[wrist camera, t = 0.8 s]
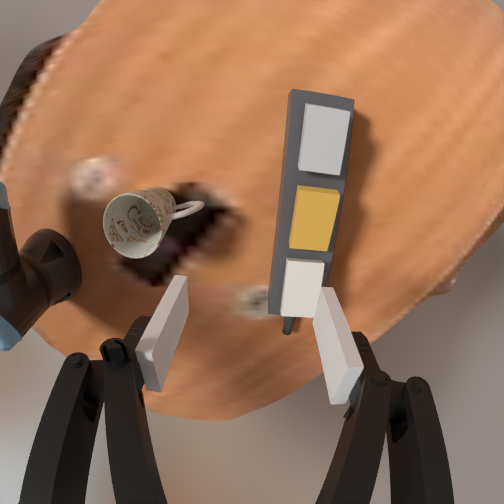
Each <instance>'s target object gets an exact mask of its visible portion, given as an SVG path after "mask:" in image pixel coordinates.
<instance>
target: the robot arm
mask: <svg viewBox="0 0 504 504" xmlns="http://www.w3.org/2000/svg"><path fill="white" fill-rule="evenodd" d="M10 210H11V207H10V206H9V201H8V196H7V189H6V186H5V185H4V184H3V183H2V182H0V350H1V351H9V350H10V349H12V347H14V346H15V345H16V344H17V343H18V342H19V341H20V340H21V339H22V337H23V336H24V335H25V334H26V333H27V331H28V330H29V329H30V328H31V327H32V326H33V325H34V323H35V322H36V321H37V320H38V319H39V318H40V317H41V316H42V314H43V313H44V312H45V311H46V310H47V309H48V308H49V307H51V306H53V305H56V304H58V303H61V302H63V301H66V300H68V299H69V298H71V297H72V296H73V295H74V294H75V293H76V292H77V290H78V289H79V287H80V284H81V269H80V265H79V261H78V259H77V256H76V254H75V252H74V250H73V249H72V247H71V246H70V244H69V243H68V242H67V241H66V239H65V238H64V237H62V236H61V235H60V234H59V233H57V232H55V231H53V230H50V229H41V230H39V231H37V232H36V233H34V234H33V235H31V236H30V237H29V238H28V240H27V241H26V243H25V244H24V245H23V247H22V248H21V250H20V251H19V253H18V249H17V244H16V240H15V235H14V229H13V224H12V218H11V212H10ZM188 315H189V305H188V286H187V276H180V275H175V276H174V278H173V279H172V281H171V283H170V285H169V287H168V288H167V290H166V292H165V294H164V296H163V297H162V299H161V301H160V303H159V305H158V307H157V309H156V310H155V312H154V314H153V316H152V317H147V316H140V317H139V318H138V319H136V320H135V321H134V323H133V324H132V326H131V329H129V331H128V334H127V335H126V336H125V338H124V340H123V339H120V338H112V339H108V340H106V341H104V342H103V343H102V344H101V346H100V352H101V355H102V357H103V360H89V358H88V356H87V355H85V354H84V353H73V354H71V355H69V356H68V357H67V358H66V359H65V361H64V363H63V366H62V368H61V370H60V373H59V375H58V377H57V380H56V382H55V384H54V387H53V389H52V391H51V394H50V397H49V399H48V402H47V404H46V407H45V410H44V412H43V415H42V418H41V421H40V424H39V427H38V430H37V433H36V436H35V439H34V443H33V446H32V449H31V452H30V456H29V460H28V464H27V468H26V472H25V476H24V480H23V485H22V490H21V495H20V501H19V503H18V504H85V496H86V489H87V482H88V475H89V469H90V463H91V458H92V452H93V447H94V442H95V436H96V432H97V427H98V423H99V419H100V414H101V410H102V407H103V403H105V424H106V437H107V447H108V456H109V464H110V471H111V478H112V484H113V490H114V495H115V500H116V504H167V500H166V497H165V494H164V490H163V487H162V483H161V480H160V476H159V472H158V469H157V465H156V461H155V456H154V452H153V447H152V443H151V438H150V433H149V428H148V422H147V416H146V410H145V404H144V398H143V393H142V387H143V385H144V384H145V387H146V390H151V391H156V392H162V389H163V386H164V383H165V380H166V377H167V374H168V371H169V368H170V365H171V362H172V359H173V356H174V354H175V351H176V348H177V345H178V342H179V339H180V337H181V334H182V331H183V328H184V325H185V323H186V320H187V317H188ZM313 327H314V331H315V335H316V339H317V344H318V348H319V353H320V357H321V362H322V366H323V371H324V375H325V380H326V385H327V390H328V394H329V400H330V404H331V405H333V404H334V405H335V404H345V403H346V401H347V400H348V398H349V399H350V403H351V405H350V406H349V408H348V410H347V412H346V413H345V415H344V418H345V417H346V418H345V422H344V425H343V428H342V432H341V435H340V438H339V441H338V445H337V448H336V451H335V454H334V457H333V460H332V462H331V465H330V468H329V471H328V473H327V476H326V479H325V481H324V484H323V486H322V489H321V491H320V494H319V496H318V499H317V501H316V503H315V504H369V503H370V500H371V496H372V492H373V489H374V485H375V481H376V477H377V473H378V469H379V464H380V460H381V455H382V450H383V445H384V439H385V433H387V443H388V453H389V467H390V485H391V504H454V496H453V488H452V481H451V474H450V469H449V463H448V458H447V452H446V447H445V443H444V438H443V434H442V430H441V426H440V422H439V418H438V415H437V411H436V407H435V403H434V400H433V396H432V393H431V390H430V386H429V384H428V383H427V382H426V381H425V380H424V379H423V378H421V377H411V378H409V379H408V380H407V382H406V383H404V382H397V381H393V380H391V378H390V377H389V375H388V374H387V373H385V372H383V371H381V370H380V368H379V366H378V363H377V361H376V359H375V356H374V354H373V351H372V349H371V347H370V344H369V342H368V340H367V338H366V337H365V336H364V335H363V334H362V333H361V332H351V331H350V328H349V326H348V323H347V321H346V318H345V316H344V313H343V311H342V308H341V306H340V303H339V301H338V298H337V296H336V294H335V291H334V289H333V287H321V289H320V294H319V298H318V302H317V307H316V311H315V315H314V319H313Z"/></svg>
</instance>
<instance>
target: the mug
mask: <svg viewBox="0 0 504 504" xmlns="http://www.w3.org/2000/svg"><path fill="white" fill-rule="evenodd" d="M190 207H191V208H190ZM203 207H204V202H202V201H190V202H186V203H183V204H180V205H177V206H176V202H175V199H174V197H173V196H172V194H171V193H170V192H169V191H167V190H166V189H164V188H160V187H153V188H148V189H143V190H138V191H133V192H129V193H124V194H121V195H119V196H117V197H115V198H114V199H113V200H112V201H111V202H110V203H109V204H108V206H107V207H106V209H105V212H104V216H103V228H104V232H105V235H106V238H107V240H108V241H109V243H110V244H111V246H112V247H113V248H114V249H115V250H116V251H118V252H119V253H120V254H122V255H124V256H126V257H129V258H143V257H146V256H148V255H150V254H152V253H153V252H154V251H155V250H156V249H157V248H158V246H159V245H160V243H161V241H162V239H163V237H164V235H165V233H166V231H167V229H168V227H169V225H170V223H171V221H172V220H173V219H178V218H182V217H185V216H188V215H190V214H193V213H195V212H197V211H199V210H200V209H202V208H203ZM182 208H188V209H186V210H183V211H180V212H176V209H182Z"/></svg>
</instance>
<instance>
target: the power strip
mask: <svg viewBox="0 0 504 504" xmlns="http://www.w3.org/2000/svg"><path fill="white" fill-rule="evenodd" d="M305 103H306V104H313V105H319V106H325V107H331V108H337V109H342V110H347V111H349V112H350V118H349V124H348V131H347V137H346V143H345V149H344V154H343V160H342V165H341V170H340V175H333V174H326V173H318V172H311V171H302V170H299V168H298V161H299V153H300V145H301V137H302V129H303V121H304V112H305ZM353 112H354V99H349V98H345V97H340V96H334V95H329V94H323V93H317V92H311V91H304V90H297V89H292V90H291V91H290V93H289V95H288V108H287V120H286V131H285V142H284V153H283V164H282V174H281V184H280V194H279V203H278V213H277V222H276V231H275V240H274V249H273V258H272V267H271V275H270V283H269V292H268V314H281V313H280V309H281V301H282V293H283V284H284V276H285V267H286V259H287V258H297V259H310V260H322V261H323V262H324V263H325V265H324V272H323V278H322V284H321V287H326V284H327V279H328V275H329V270H330V266H331V261H332V256H333V251H334V246H335V241H336V236H337V230H338V225H339V219H340V213H341V208H342V201H343V195H344V189H345V182H346V175H347V167H348V159H349V151H350V143H351V133H352V123H353ZM297 185H301V186H309V187H318V188H326V189H333V190H338V192H339V194H340V199H339V204H338V208H337V213H336V217H335V221H334V226H333V230H332V234H331V238H330V242H329V246H328V250H327V251H317V250H305V249H293V248H290V247H289V237H290V231H291V225H292V218H293V212H294V205H295V199H296V192H297ZM293 322H294V317H289V316H285V320H284V326H283V331H282V332H283V334H285V335H290V334H291V332H292V327H293Z"/></svg>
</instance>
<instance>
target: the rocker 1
mask: <svg viewBox="0 0 504 504" xmlns="http://www.w3.org/2000/svg"><path fill="white" fill-rule="evenodd" d="M349 118H350V112H349V111H347V110H342V109H337V108H331V107H325V106H319V105H313V104H306V103H305V112H304V121H303V129H302V137H301V145H300V153H299V161H298V168H299V170H302V171H311V172H318V173H326V174H333V175H340V170H341V165H342V160H343V154H344V149H345V143H346V137H347V131H348V124H349Z"/></svg>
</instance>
